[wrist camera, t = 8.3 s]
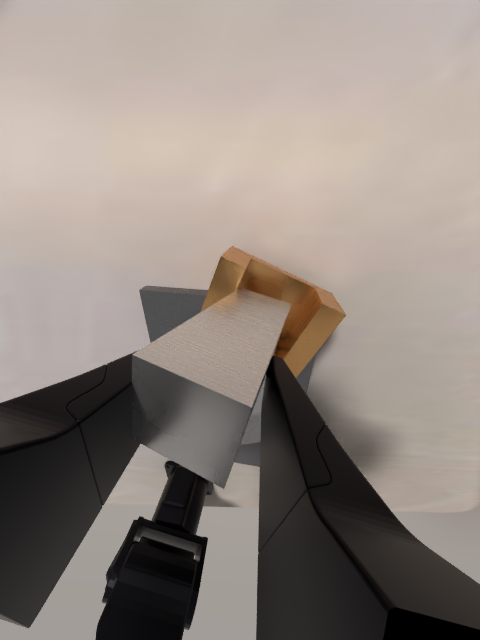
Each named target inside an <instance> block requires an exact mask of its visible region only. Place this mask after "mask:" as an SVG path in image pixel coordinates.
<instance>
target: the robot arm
mask: <svg viewBox="0 0 480 640" xmlns="http://www.w3.org/2000/svg"><path fill="white" fill-rule="evenodd" d="M138 351H139V350H138ZM136 352H137V351H136ZM136 352H134V353H136ZM134 353H131V354H129V355H127V356H124V357H122V358H120V359H117V360H115V361H113V362H110V363H108V364H107V365H103V366H101V367H98V368H96V369H94V370H91V371H89V372H86V373H84V374H81V375H79V376H76V377H73V378H71V379H68V380H65V381H62V382H60V383H57V384H54V385H51V386H48V387H45V388H42V389H40V390H37V391H34V392H31V393H28V394H25V395H22V396H20V397H17V398H14V399H11V400H8V401H5V402H2V403H0V619H2V620H5V621H8V622H11V623H14V624H17V625H21V626H23V627H26V628H29V627H30V626H31V624H32V623H33V621H34V620H35V618H36V617H37V615H38V613H39V612H40V610H41V608H42V607H43V605H44V603H45V602H46V600H47V598H48V597H49V595H50V593H51V592H52V590H53V588H54V587H55V585H56V583H57V582H58V580H59V578H60V577H61V575H62V573H63V572H64V570H65V568H66V567H67V565H68V563H69V562H70V560H71V558H72V557H73V555H74V553H75V552H76V550H77V548H78V547H79V545H80V543H81V542H82V540H83V539H84V537H85V535H86V533H87V532H88V530H89V528H90V527H91V525H92V524H93V522H94V520H95V518H96V517H97V515H98V513H99V512H100V510H101V508H102V505H104V503H105V502H106V500H107V498H108V497H109V495H110V493H111V492H112V490H113V488H114V487H115V485H116V483H117V482H118V480H119V478H120V477H121V475H122V473H123V472H124V470H125V468H126V467H127V465H128V463H129V462H130V460H131V458H132V457H133V455H134V453H135V452H136V450H137V448H138V447H139V445H140V443H139V442H137V441H135V440H134V439H132V400H133V384H132V354H134ZM165 469H166V473H167V477H168V480H167V483H166V485H165V488H164V490H163V493H162V495H161V498H160V500H159V503H158V505H157V508H156V510H155V513H154V516H153V518H152V521H150V520H147V519H144V518H143V517H139V518H138V520H134V521H133V523H132V525H131V527H130V530H129V532H128V534H127V536H126V538H125V540H124V542H123V544H122V546H121V547H120V549H119V551H118V553H117V555H116V556H115V558H114V560H113V562H112V564H111V565H110V567H109V569H108V571H107V574H106V580H107V585H106V588H105V593H104V596H103V599H102V602H103V603H106V606H105V608H104V610H103V613H102V615H101V617H100V620H99V623H98V626H97V631H96V640H182V636H183V632H184V629H187V630H189V628H190V626H191V622H192V619H193V615H194V611H195V607H196V603H197V598H198V593H199V588H200V582H201V576H202V570H203V564H204V558H205V553H206V547H207V541H208V538H207V537H200V536H197V535H196V532H197V528H198V524H199V520H200V516H201V512H202V508H203V503H204V499H205V495H206V494H207V495H211V494H212V482H211V481H209V480H207V479H205V478H203V477H201V476H200V475H198V474H196V473H194V472H192V471H190V470H189V469H187V468H185V467H183V466H181V465H179V464H178V463H174V462H169V461H167V462H166V463H165ZM139 538H141V539H140V541H139ZM138 541H139V542H138ZM258 541H259V542H258V552H259V554H258V584H257V632H256V640H480V584H479V583H477V582H476V581H474V580H473V579H472V578H470V577H469V576H467V575H466V574H465V573H463V572H462V571H460V570H459V569H458V568H456V567H455V566H453V565H452V564H451V563H449V562H448V561H446V560H445V559H443V558H442V557H440V556H439V555H438V554H436V553H435V552H434V551H432V550H431V549H429V548H428V547H427V546H425V545H424V544H423V543H422V542H420V541H419V540H418V539H417V538H415V536H414V535H412V534H411V533H410V532H409V531H408V530H407V529H406V528H405V527H404V525H403V524H402V523H401V522H400V521H399V520H398V519H397V518H396V516H395V515H394V514H393V513H392V512H391V510H390V509H389V508H388V506H387V505H386V504H385V503H384V501H383V500H382V499H381V497H380V496H379V495H378V494H377V492H376V491H375V490H374V488H373V487H372V486H371V485H370V483H369V482H368V481H367V479H366V478H365V477H364V476H363V474H362V473H361V472H360V471H359V469H358V468H357V467H356V465H355V464H354V463H353V461H352V460H351V459H350V457H349V456H348V455H347V453H346V452H345V451H344V449H343V448H342V446H341V445H340V444H339V442H338V441H337V439H336V438H335V436H334V435H333V433H332V432H331V430H330V429H329V427H328V426H327V425H325V422H324V420H323V419H322V417H321V415H320V414H319V412H318V411H317V409H316V408H315V406H314V405H313V403H312V402H311V400H310V399H309V397H308V396H307V394H306V393H305V391H304V390H303V388H302V387H301V385H300V384H299V382H298V381H297V379H296V378H295V376H294V375H293V373H292V372H291V370H290V369H289V367H288V366H287V364H286V363H285V361H284V360H283V358H281V357H278V356H272V359H271V362H270V364H269V367H268V370H267V373H266V379H265V385H264V392H263V399H262V407H261V444H260V492H259V540H258ZM194 555H196V556H195V560H194Z"/></svg>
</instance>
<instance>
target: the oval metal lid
mask: <svg viewBox="0 0 480 640" xmlns="http://www.w3.org/2000/svg"><path fill="white" fill-rule="evenodd" d="M239 288H243V289H246V290H249V291H253V292H256V293H259V294H262V295H265V296H268V297H271V298H274V299H278V300H281V301H284V302H287V303H290V304H291V307H290V310H289V313H288V315H287V318H286V321H285V324H284V327H283V330H282V332H281V335H280V338H279V341H278V344H277V347H276V350H275V352H274V355H273V356H278V357H281V358H283V360H284V361H285V363H286V364H287V366H288V367H289V369H290V370H291V372H292V373H293V375H294V376H295V378H296V377H297V376H298V375H299V374H300V372H301V371H302V370H303V369H304V367H305V366H306V365H307V364H308V362H309V361H310V360H311V359H312V357H313V356H314V355H315V354H316V352H317V351H318V350H319V349H320V347H321V346H322V345H323V344H324V342H325V341H326V340H327V339H328V337H329V336H330V335H331V334H332V332H333V331H334V330H335V328H336V327H337V326H338V325H339V323H340V322H341V321H342V320H343V318H344V317H345V316H346V314H345V312H344V311H343V309H342V308H341V306H340V305H339V303H338V302H337V300H336V299H335V297H334V296H333V294H332V293H330V292H328V291H326V290H324V289H322V288H320V287H318V286H315V285H313V284H311V283H309V282H307V281H305V280H303V279H301V278H299V277H296V276H294V275H292V274H290V273H288V272H286V271H284V270H282V269H280V268H277V267H275V266H273V265H271V264H269V263H267V262H265V261H263V260H261V259H258V258H256V257H254V256H252V255H250V254H248V253H246V252H244V251H242V250H240V249H237V248H235V247H233V246H232V247H231V248H230V249H229V250H227V251H226V252H225V253H224V254H223V255H222V256H221V258H220V260H219V263H218V266H217V268H216V271H215V274H214V277H213V279H212V282H211V285H210V287H209V290H208V293H207V296H206V298H205V301H204V304H203V306H202V309H201V312H202V311H204V310H205V309H207V308H208V307H210V306H212V305H213V304H215V303H217V302H218V301H220V300H221V299H223V298H225V297H226V296H228V295H229V294H231V293H233V292H234V291H236V290H238V289H239ZM265 379H266V377H265ZM265 379H264V382H263V385H262V387H261V390H260V393H259V396H258V398H257V401H256V404H255V406H254V409H253V412H252V415H251V417H250V420H249V423H248V425H247V428H246V431H245V433H244V436H243V439H242V442H241V444H251V443H256V442H260V441H261V407H262V399H263V392H264V385H265ZM241 444H240V445H241Z"/></svg>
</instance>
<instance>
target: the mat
mask: <svg viewBox="0 0 480 640" xmlns="http://www.w3.org/2000/svg"><path fill="white" fill-rule="evenodd" d="M260 444H261V441H260V442H256V443H251V444H241V445H240V447H239V450H238V452H237V455H236V458H235V460H234V462H236V463H242V464H247V465H253V466H259V467H260Z"/></svg>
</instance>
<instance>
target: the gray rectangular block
mask: <svg viewBox="0 0 480 640" xmlns="http://www.w3.org/2000/svg"><path fill="white" fill-rule="evenodd" d="M290 307H291V304H290V303H287V302H284V301H281V300H278V299H274V298H271V297H268V296H265V295H262V294H259V293H256V292H253V291H249V290H246V289H243V288H239V289H238V290H236V291H234V292H233V293H231V294H229V295H228V296H226V297H225V298H223V299H221V300H220V301H218V302H217V303H215V304H213V305H212V306H210V307H208V308H207V309H205V310H204V311H202V312H200V313H199V314H197V315H195V316H194V317H192V318H191V319H189V320H187V321H186V322H184V323H183V324H181V325H179V326H178V327H176V328H174V329H173V330H171V331H170V332H168V333H166V334H165V335H163V336H161V337H160V338H158V339H157V340H155V341H153V342H152V343H150V344H149V345H147V346H145V347H144V348H142V349H140V350H139V351H137V352H136V353H134V354H132V384H133V400H132V439H134V440H135V441H137V442H139V443H141V444H143V445H145V446H146V447H148V448H150V449H152V450H154V451H156V452H157V453H159V454H161V455H163V456H165V457H167V458H168V459H170V460H172V461H174V462H176V463H178V464H179V465H181V466H183V467H185V468H187V469H189V470H190V471H192V472H194V473H196V474H198V475H200V476H201V477H203V478H205V479H207V480H209V481H211V482H212V483H214V484H216V485H218V486H220V487H221V488H223V489H224V487H225V485H226V482H227V479H228V477H229V474H230V471H231V469H232V466H233V463H234V460H235V458H236V455H237V452H238V450H239V447H240V444H241V442H242V439H243V436H244V433H245V431H246V428H247V425H248V423H249V420H250V417H251V415H252V412H253V409H254V406H255V404H256V401H257V398H258V396H259V393H260V390H261V387H262V385H263V382H264V379H265V377H266V373H267V370H268V367H269V364H270V362H271V359H272V356H273V355H274V352H275V350H276V347H277V344H278V341H279V338H280V335H281V332H282V330H283V327H284V324H285V321H286V318H287V315H288V313H289V310H290Z"/></svg>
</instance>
